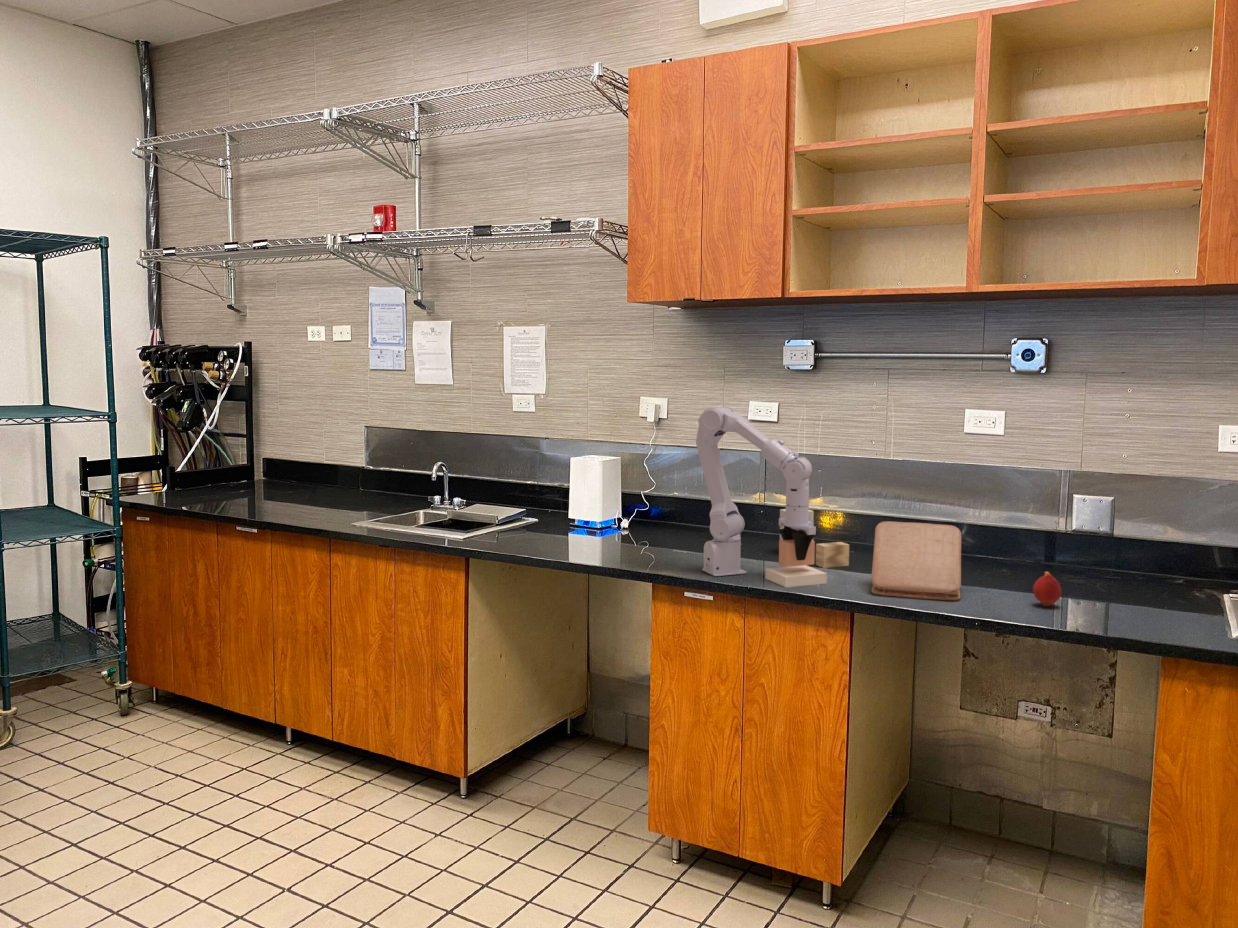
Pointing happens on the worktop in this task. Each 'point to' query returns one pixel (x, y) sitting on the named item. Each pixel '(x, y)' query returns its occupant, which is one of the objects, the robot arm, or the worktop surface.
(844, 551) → the light oak brick
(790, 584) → the base block
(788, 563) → the terracotta brick
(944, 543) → the case
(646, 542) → the worktop surface
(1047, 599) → the onion
